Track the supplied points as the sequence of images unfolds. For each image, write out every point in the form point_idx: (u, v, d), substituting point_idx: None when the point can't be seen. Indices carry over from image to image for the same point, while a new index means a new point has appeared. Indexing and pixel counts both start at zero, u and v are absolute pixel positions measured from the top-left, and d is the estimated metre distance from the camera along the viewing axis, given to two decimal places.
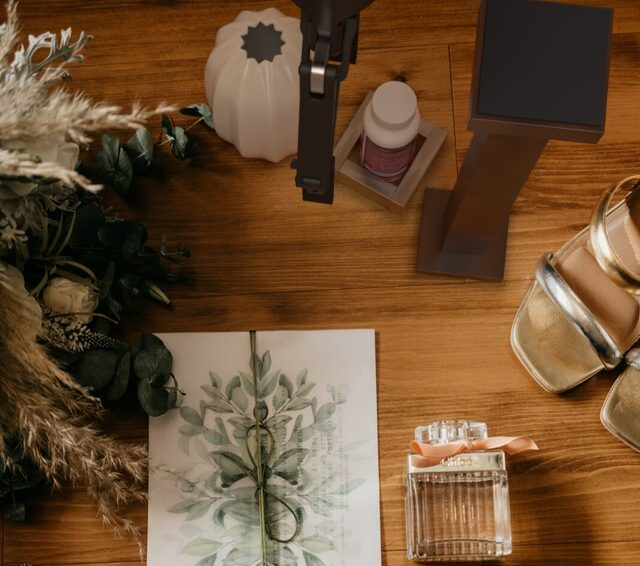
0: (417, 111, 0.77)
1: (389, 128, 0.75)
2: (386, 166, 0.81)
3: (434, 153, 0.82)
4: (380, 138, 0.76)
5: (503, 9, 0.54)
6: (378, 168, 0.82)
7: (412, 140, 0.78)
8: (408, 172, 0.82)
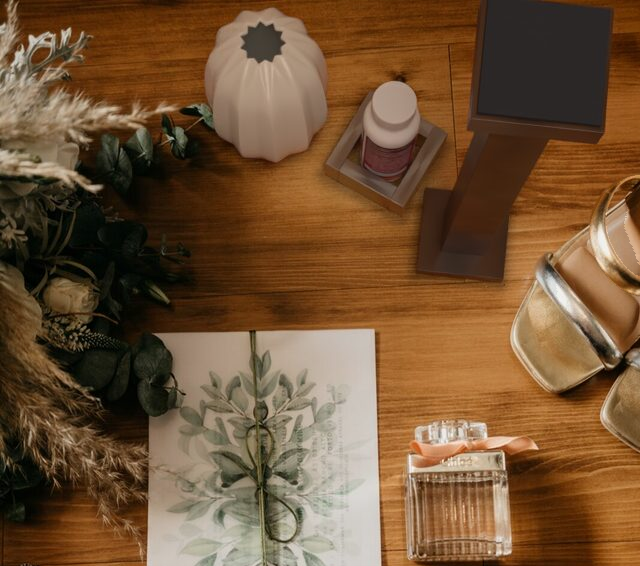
0: (417, 111, 0.77)
1: (389, 128, 0.75)
2: (386, 166, 0.81)
3: (434, 153, 0.82)
4: (380, 138, 0.76)
5: (503, 9, 0.54)
6: (378, 168, 0.82)
7: (412, 140, 0.78)
8: (408, 172, 0.82)
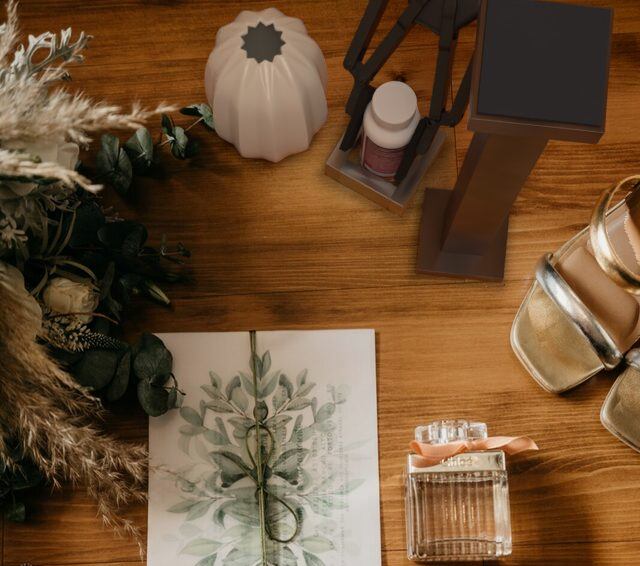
0: (417, 111, 0.77)
1: (389, 128, 0.75)
2: (386, 166, 0.81)
3: (434, 153, 0.82)
4: (380, 138, 0.76)
5: (503, 9, 0.54)
6: (378, 168, 0.82)
7: None
8: (408, 172, 0.82)
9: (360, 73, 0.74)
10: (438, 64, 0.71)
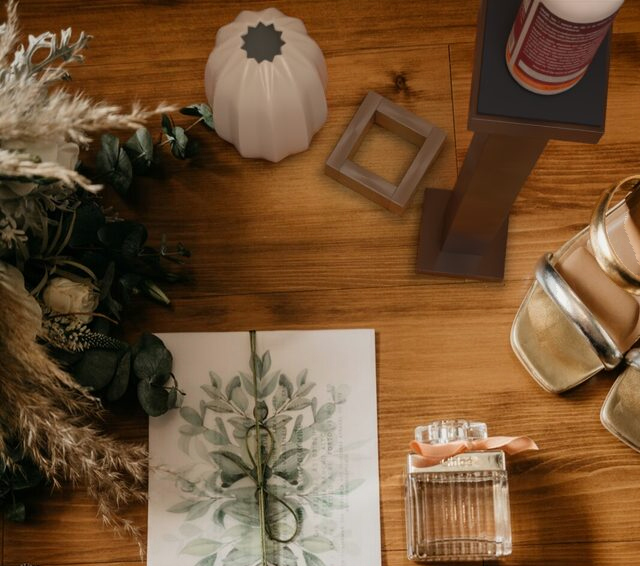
0: None
1: None
2: (561, 61, 0.49)
3: (434, 153, 0.82)
4: (568, 2, 0.45)
5: (503, 9, 0.54)
6: (545, 67, 0.50)
7: (617, 10, 0.46)
8: (408, 172, 0.82)
9: None
10: None
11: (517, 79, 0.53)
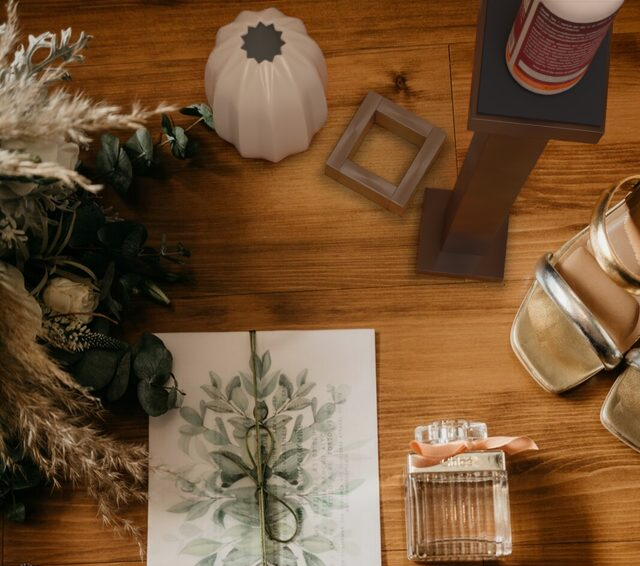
0: None
1: None
2: (561, 61, 0.49)
3: (434, 153, 0.82)
4: (568, 2, 0.45)
5: (503, 9, 0.54)
6: (545, 67, 0.50)
7: (617, 10, 0.46)
8: (408, 172, 0.82)
9: None
10: None
11: (517, 79, 0.53)
